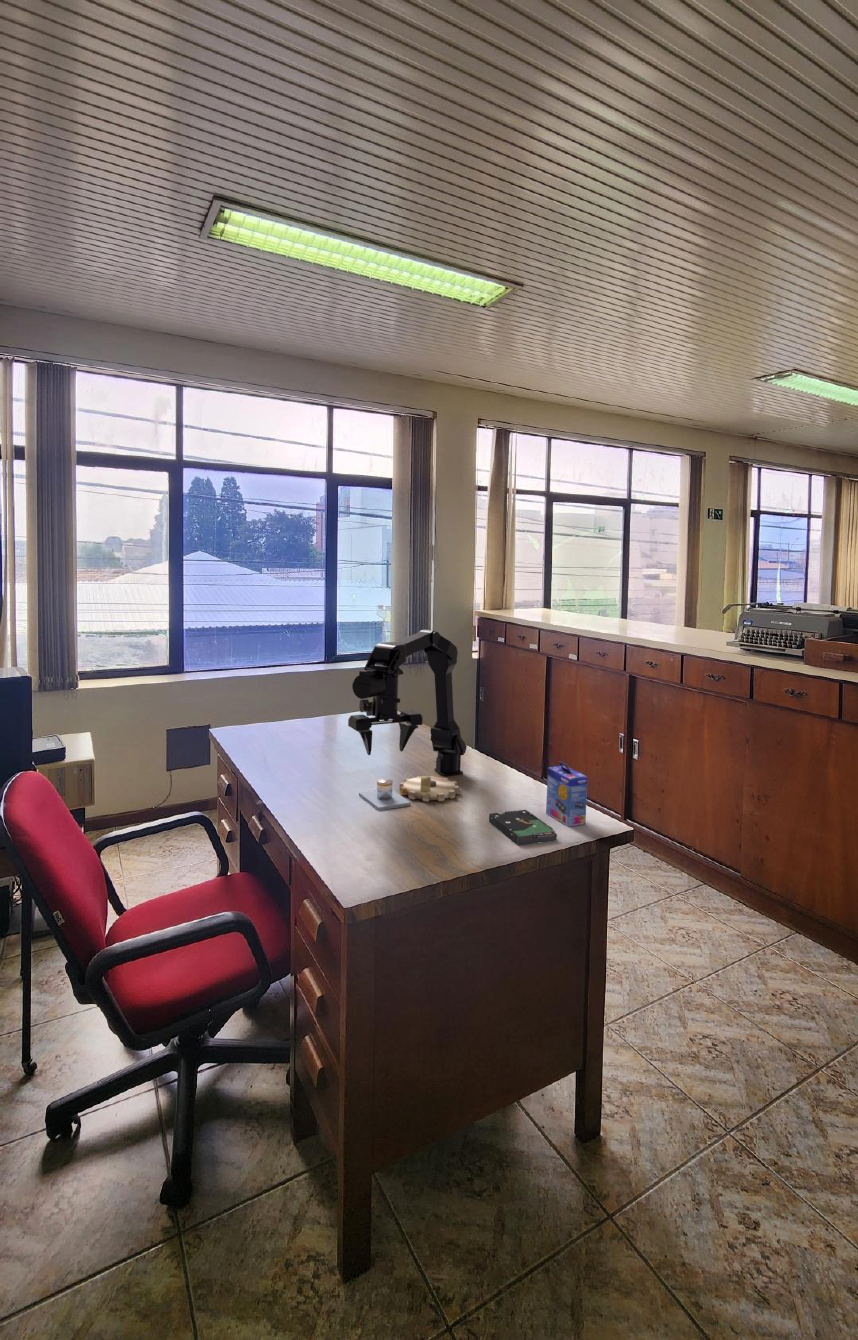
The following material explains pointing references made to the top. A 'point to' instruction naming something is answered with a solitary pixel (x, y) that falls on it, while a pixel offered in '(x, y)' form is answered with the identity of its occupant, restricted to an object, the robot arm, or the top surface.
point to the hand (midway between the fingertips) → (385, 752)
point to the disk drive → (522, 827)
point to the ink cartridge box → (566, 795)
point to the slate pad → (384, 804)
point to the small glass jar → (384, 789)
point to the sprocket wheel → (429, 788)
